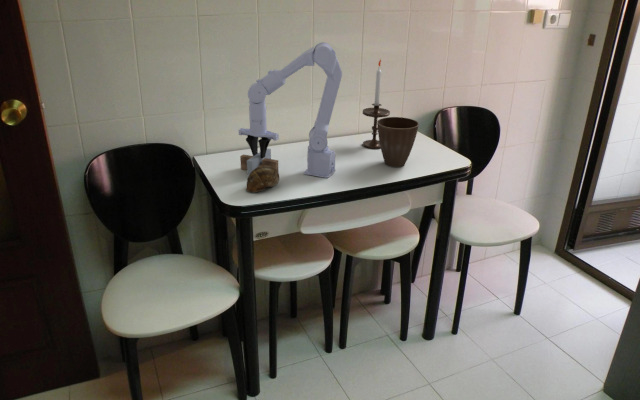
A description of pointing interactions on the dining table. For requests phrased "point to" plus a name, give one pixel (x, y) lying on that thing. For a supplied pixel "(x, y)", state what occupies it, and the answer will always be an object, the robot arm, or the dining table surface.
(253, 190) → the seashell
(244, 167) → the walnut slotted board
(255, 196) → the dining table surface
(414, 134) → the plant pot
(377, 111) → the candlestick
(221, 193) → the dining table surface
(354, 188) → the dining table surface
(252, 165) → the grey slotted slat
